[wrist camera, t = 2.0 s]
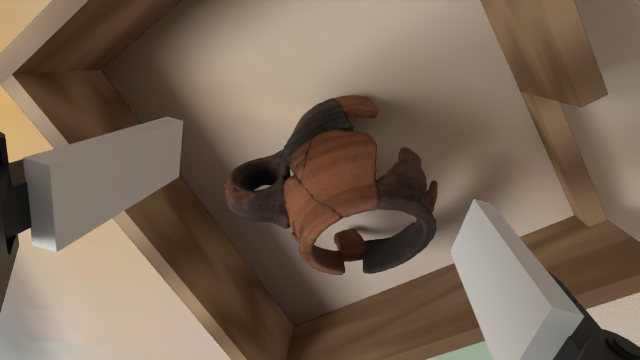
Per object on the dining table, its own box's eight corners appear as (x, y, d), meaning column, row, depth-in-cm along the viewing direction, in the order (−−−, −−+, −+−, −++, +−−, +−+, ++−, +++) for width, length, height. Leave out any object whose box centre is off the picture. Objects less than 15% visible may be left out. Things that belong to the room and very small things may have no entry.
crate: (81, 64, 22) (-14, 67, 17) (408, -226, 15) (431, -385, 10) (291, 338, 28) (272, 408, 23) (596, 221, 21) (677, 280, 16)
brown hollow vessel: (417, 76, 20) (477, 174, 14) (397, 183, 27) (432, 278, 21) (214, 95, 19) (193, 205, 14) (247, 199, 26) (242, 301, 21)
